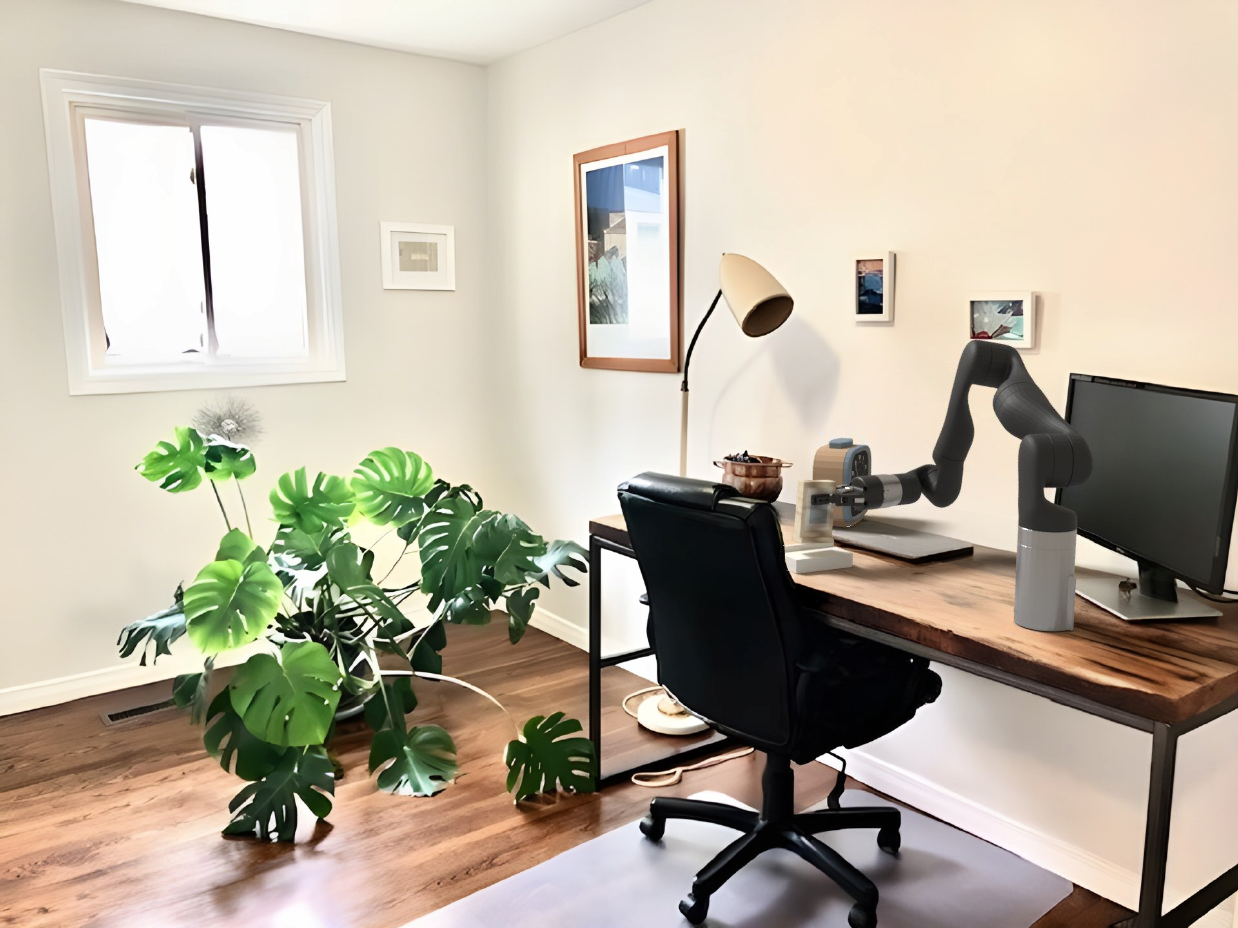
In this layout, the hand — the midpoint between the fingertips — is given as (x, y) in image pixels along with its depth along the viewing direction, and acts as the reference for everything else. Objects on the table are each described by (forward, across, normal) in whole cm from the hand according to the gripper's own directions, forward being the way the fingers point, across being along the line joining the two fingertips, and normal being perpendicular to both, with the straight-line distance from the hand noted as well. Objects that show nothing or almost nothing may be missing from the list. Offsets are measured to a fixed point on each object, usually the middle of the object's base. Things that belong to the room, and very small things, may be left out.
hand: (808, 498), depth 205 cm
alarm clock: (-33, -35, +16) cm, 50 cm away
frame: (-1, 0, +10) cm, 10 cm away
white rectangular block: (-2, 0, +15) cm, 15 cm away
